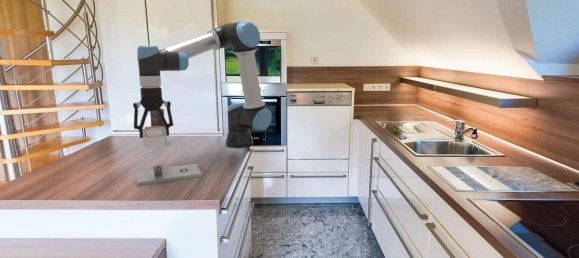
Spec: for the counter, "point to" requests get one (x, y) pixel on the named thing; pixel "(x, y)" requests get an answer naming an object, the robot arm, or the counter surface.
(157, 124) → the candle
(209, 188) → the counter surface
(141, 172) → the panel
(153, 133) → the knob
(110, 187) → the counter surface
